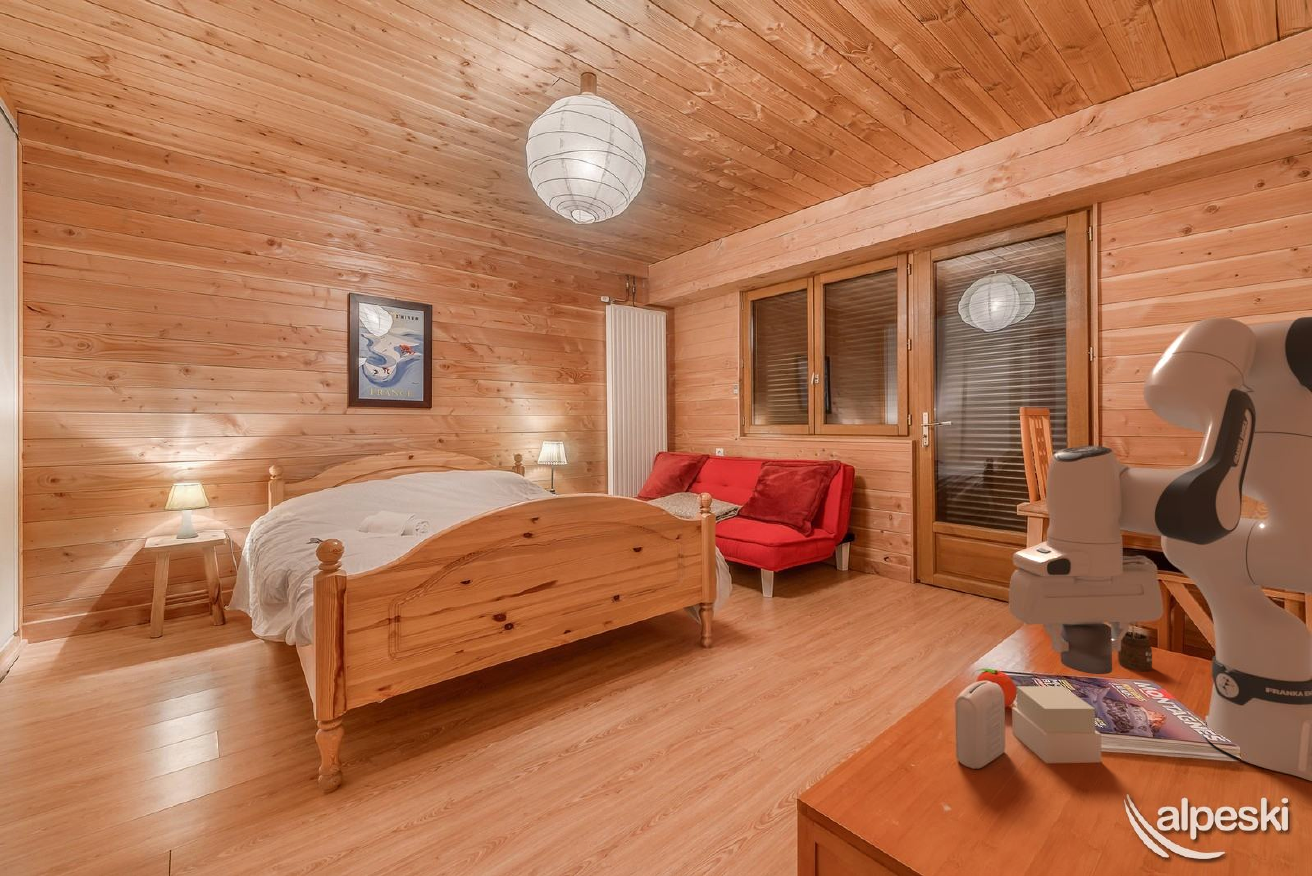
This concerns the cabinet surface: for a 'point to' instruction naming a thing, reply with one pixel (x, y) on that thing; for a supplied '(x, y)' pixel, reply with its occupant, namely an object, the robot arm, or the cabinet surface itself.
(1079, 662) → the charcoal cylinder
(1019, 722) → the tower bottom block
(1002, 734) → the photo printer
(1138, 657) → the utensil holder
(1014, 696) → the clementine
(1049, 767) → the cabinet surface
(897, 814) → the cabinet surface
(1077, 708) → the tower top block
